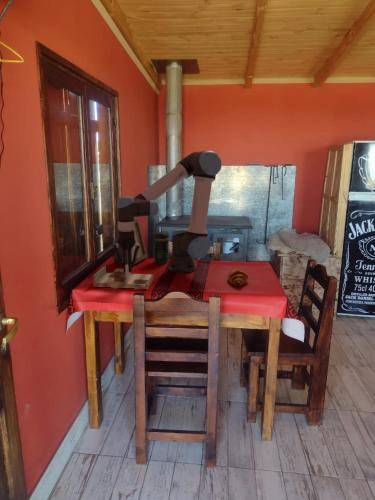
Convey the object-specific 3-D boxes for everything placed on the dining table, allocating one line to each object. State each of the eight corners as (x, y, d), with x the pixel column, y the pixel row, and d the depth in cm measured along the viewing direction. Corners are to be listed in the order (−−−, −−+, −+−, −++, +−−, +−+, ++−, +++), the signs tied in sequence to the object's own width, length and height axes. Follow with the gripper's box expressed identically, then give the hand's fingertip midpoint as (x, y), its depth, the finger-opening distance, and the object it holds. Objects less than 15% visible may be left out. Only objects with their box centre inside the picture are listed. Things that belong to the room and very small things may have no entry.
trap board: (153, 279, 184) (153, 268, 183) (147, 289, 169) (146, 277, 167) (104, 277, 187) (103, 266, 185) (93, 287, 171) (93, 275, 170)
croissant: (230, 281, 193) (223, 268, 192) (247, 273, 192) (240, 260, 190) (233, 294, 172) (225, 280, 171) (252, 285, 171) (244, 271, 170)
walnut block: (127, 278, 177) (126, 269, 176) (124, 281, 172) (123, 271, 171) (117, 278, 177) (117, 268, 176) (114, 281, 173) (113, 271, 171)
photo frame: (147, 258, 225) (146, 218, 219) (131, 267, 205) (129, 224, 199) (126, 256, 230) (125, 217, 224) (109, 265, 210) (106, 223, 204)
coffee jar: (165, 264, 212) (165, 233, 207) (153, 263, 214) (152, 232, 209) (170, 260, 221) (170, 230, 217) (158, 259, 223) (158, 230, 218)
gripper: (141, 229, 170) (142, 276, 176) (115, 228, 171) (117, 275, 177) (138, 231, 163) (139, 281, 168) (110, 231, 164) (112, 280, 169)
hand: (127, 278), depth 172 cm, fingers closed
